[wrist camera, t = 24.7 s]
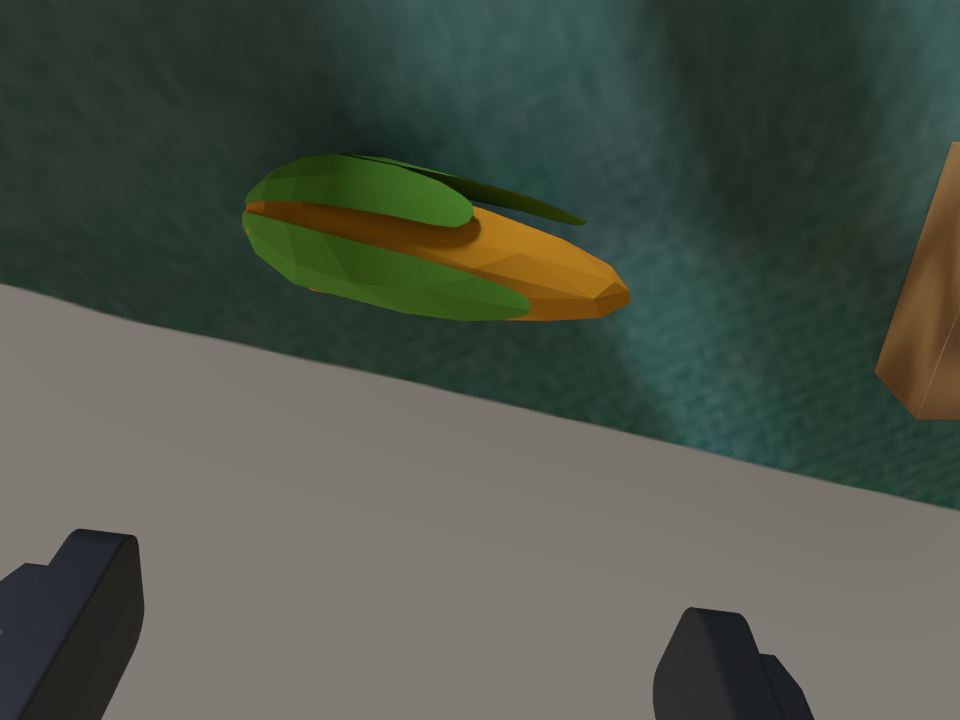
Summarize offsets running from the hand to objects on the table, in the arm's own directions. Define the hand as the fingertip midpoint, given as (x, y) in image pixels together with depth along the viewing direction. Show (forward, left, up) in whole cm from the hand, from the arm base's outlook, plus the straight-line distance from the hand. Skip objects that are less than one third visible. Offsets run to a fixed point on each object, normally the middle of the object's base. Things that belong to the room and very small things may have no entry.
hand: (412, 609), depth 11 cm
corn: (+5, 0, -30) cm, 31 cm away
